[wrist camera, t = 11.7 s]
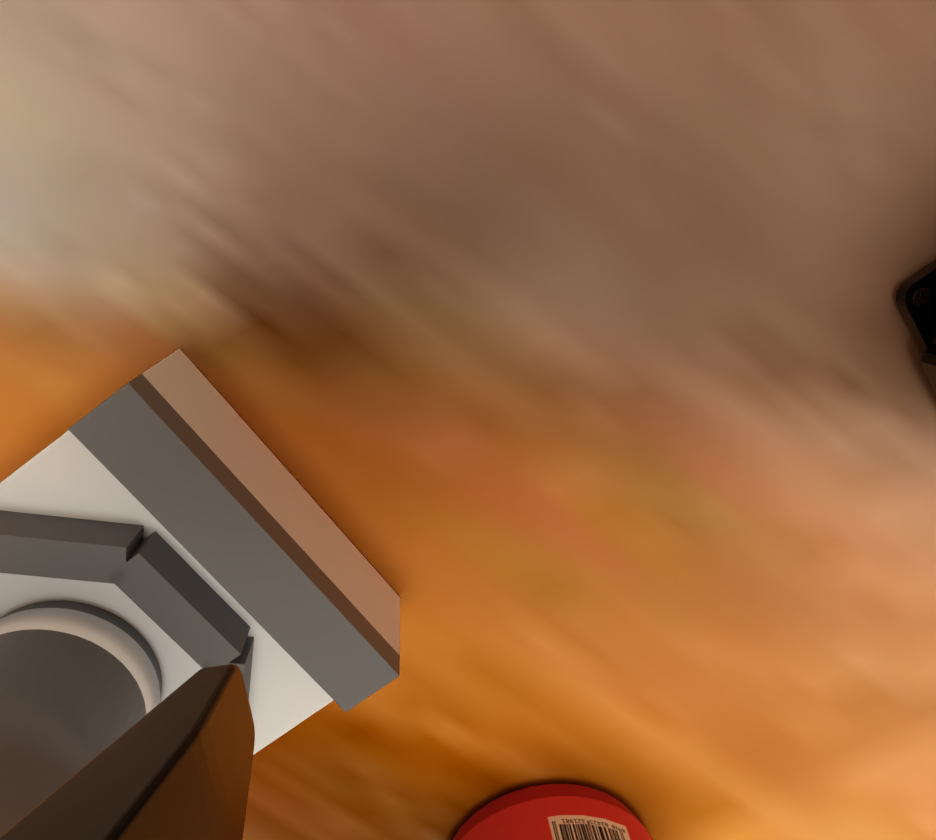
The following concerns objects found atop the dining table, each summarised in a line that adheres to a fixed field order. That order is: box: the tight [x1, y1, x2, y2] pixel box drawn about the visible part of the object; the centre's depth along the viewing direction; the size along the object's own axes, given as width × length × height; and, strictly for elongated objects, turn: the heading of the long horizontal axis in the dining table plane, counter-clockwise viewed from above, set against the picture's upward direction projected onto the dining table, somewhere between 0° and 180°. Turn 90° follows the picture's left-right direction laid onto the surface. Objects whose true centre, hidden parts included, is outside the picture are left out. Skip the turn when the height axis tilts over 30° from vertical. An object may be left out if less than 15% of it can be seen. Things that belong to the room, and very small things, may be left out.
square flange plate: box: [0, 348, 400, 755], centre depth 20 cm, size 13×10×4 cm
